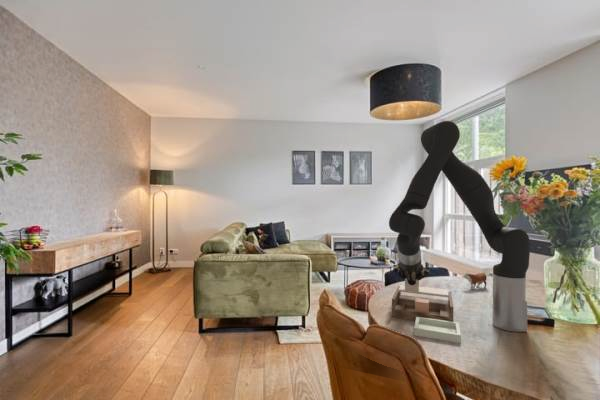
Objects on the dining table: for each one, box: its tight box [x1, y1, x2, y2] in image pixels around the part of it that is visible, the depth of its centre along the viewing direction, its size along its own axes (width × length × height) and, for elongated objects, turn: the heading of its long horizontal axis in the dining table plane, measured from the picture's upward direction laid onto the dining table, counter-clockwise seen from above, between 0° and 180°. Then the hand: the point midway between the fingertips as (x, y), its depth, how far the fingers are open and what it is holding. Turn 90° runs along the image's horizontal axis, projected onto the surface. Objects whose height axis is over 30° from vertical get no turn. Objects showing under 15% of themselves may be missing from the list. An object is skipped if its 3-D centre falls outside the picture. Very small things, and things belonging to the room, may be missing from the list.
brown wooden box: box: [391, 285, 454, 322], centre depth 120 cm, size 20×20×6 cm
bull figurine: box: [462, 271, 488, 291], centre depth 156 cm, size 4×13×8 cm, turn 107°
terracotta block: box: [415, 298, 429, 314], centre depth 114 cm, size 4×4×4 cm
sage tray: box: [413, 316, 462, 344], centre depth 102 cm, size 13×11×2 cm
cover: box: [399, 278, 449, 298], centre depth 124 cm, size 18×8×10 cm, turn 67°
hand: (411, 283), depth 122 cm, fingers closed
